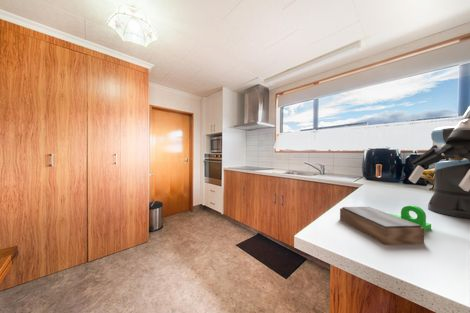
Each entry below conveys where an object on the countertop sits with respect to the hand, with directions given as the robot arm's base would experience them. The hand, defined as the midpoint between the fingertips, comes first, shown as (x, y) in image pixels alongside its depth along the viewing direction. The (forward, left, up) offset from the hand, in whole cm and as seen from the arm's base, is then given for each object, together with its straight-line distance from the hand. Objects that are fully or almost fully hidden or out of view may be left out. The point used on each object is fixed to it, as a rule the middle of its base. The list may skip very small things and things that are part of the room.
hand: (434, 184), depth 56 cm
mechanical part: (+6, -4, -16) cm, 17 cm away
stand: (+21, 0, -15) cm, 26 cm away
